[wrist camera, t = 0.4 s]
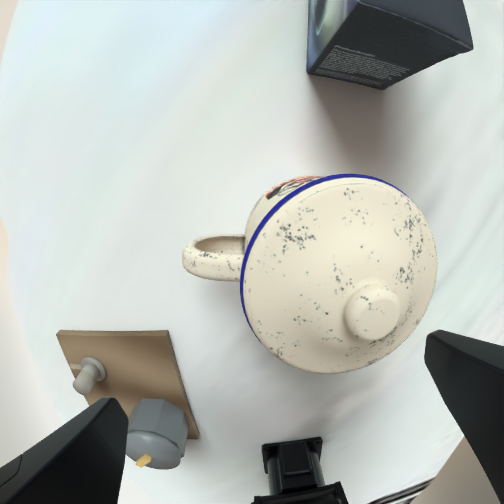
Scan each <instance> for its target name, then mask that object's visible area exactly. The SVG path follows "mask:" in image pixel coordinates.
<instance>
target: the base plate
mask: <svg viewBox="0 0 504 504" xmlns="http://www.w3.org/2000/svg"><path fill="white" fill-rule="evenodd" d="M56 336H57V338H58V341H59V343H60V346H61V348H62V350H63V353H64V355H65V357H66V360H67V362H68V364H69V366H70V369H71V371H72V373H73V375H74V377H75V380H74V382H73V387H74V389H75V390H76V391H77V392H78V393H80V394H82V395H84V397H85V399H86V401H87V402H88V404H89V406H91V405H92V404H93V403H95V402H96V401H98V400H99V399H100V398H102V397H115V398H116V399H117V400H118V402H119V403H120V405H121V407H122V408H123V410H124V411H125V413H126V415H127V417H128V419H129V416H130V414H131V411H132V409H133V407H134V406H135V405H136V404H137V403H138V402H139V401H140V400H141V399H142V398H146V399H164V400H166V401H168V402H169V403H171V404H173V405H175V406H176V407H178V408H180V409H182V410H183V411H184V413H185V415H186V418H187V421H188V424H189V428H188V433H187V439H198V436H199V433H198V430H197V427H196V424H195V421H194V418H193V415H192V412H191V409H190V406H189V403H188V400H187V397H186V393H185V390H184V387H183V384H182V380H181V377H180V373H179V370H178V366H177V363H176V359H175V356H174V352H173V348H172V344H171V340H170V336H169V332H168V330H161V331H74V330H60V331H59V332H58V333H57V334H56Z"/></svg>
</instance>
